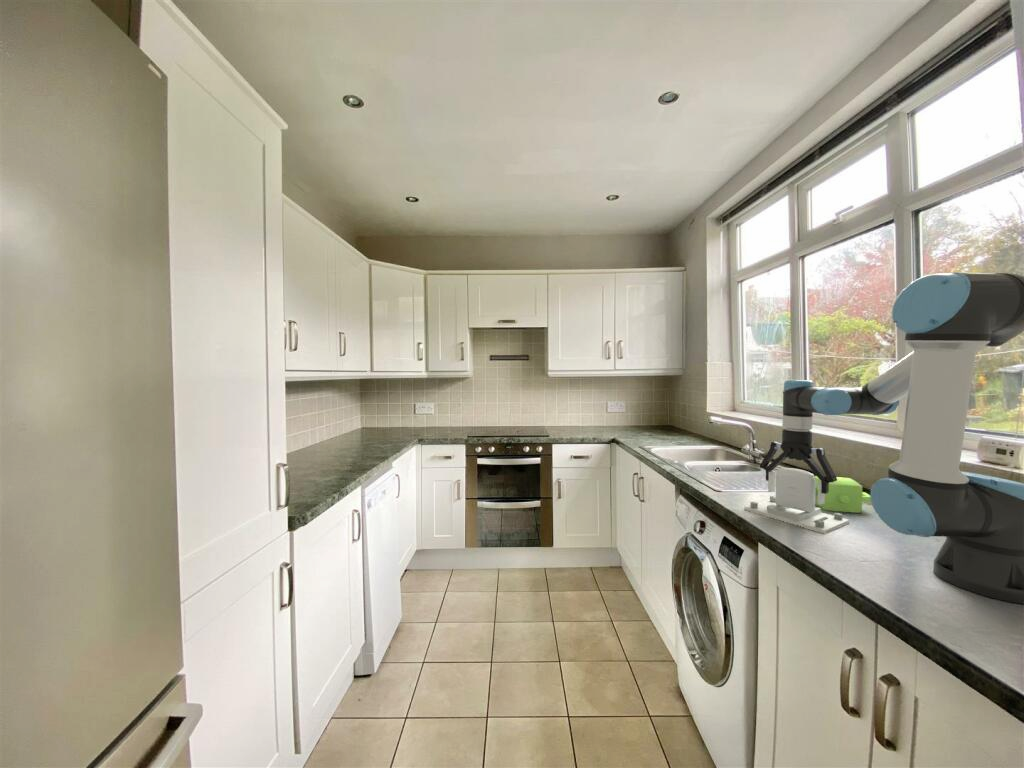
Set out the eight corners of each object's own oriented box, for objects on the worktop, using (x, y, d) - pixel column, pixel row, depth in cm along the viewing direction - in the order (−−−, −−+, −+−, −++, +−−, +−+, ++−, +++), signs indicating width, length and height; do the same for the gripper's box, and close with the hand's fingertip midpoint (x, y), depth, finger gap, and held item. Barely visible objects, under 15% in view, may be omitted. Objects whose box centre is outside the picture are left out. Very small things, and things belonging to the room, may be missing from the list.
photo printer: (773, 505, 125) (774, 466, 124) (777, 502, 128) (778, 464, 127) (812, 514, 117) (813, 473, 116) (816, 511, 120) (818, 471, 119)
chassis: (849, 523, 117) (849, 514, 117) (824, 533, 109) (824, 525, 109) (770, 501, 136) (770, 494, 136) (744, 509, 128) (744, 502, 128)
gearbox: (808, 511, 128) (809, 483, 128) (796, 500, 138) (797, 474, 137) (876, 517, 123) (877, 487, 122) (859, 505, 132) (860, 478, 131)
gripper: (852, 434, 113) (850, 507, 113) (761, 424, 134) (759, 485, 135) (841, 436, 109) (838, 511, 109) (749, 425, 130) (747, 488, 131)
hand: (795, 497), depth 122 cm, fingers open, 13 cm apart
